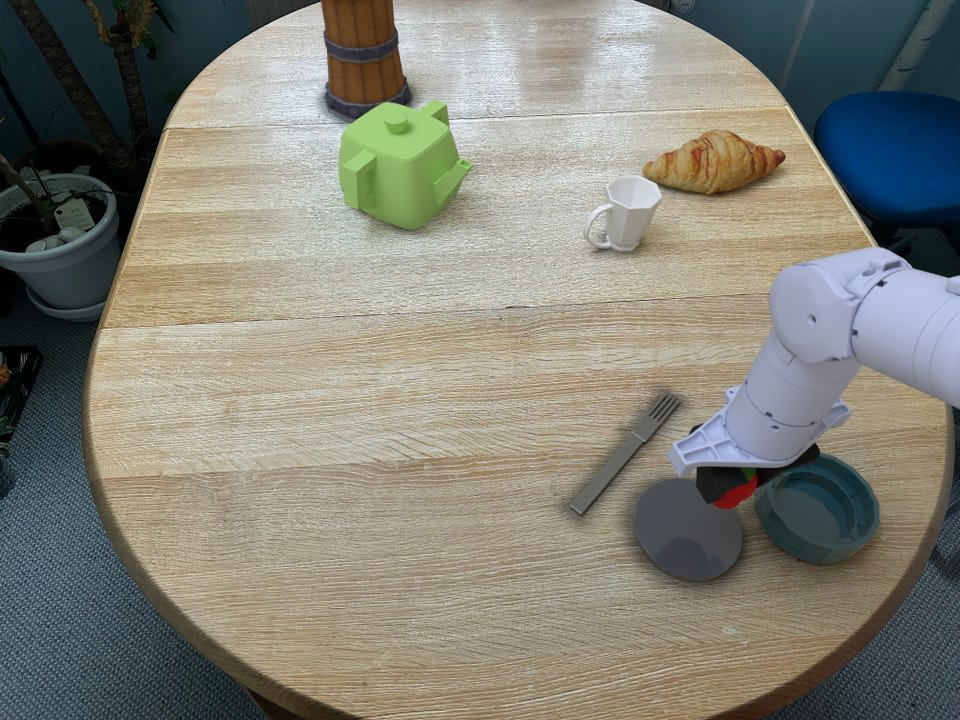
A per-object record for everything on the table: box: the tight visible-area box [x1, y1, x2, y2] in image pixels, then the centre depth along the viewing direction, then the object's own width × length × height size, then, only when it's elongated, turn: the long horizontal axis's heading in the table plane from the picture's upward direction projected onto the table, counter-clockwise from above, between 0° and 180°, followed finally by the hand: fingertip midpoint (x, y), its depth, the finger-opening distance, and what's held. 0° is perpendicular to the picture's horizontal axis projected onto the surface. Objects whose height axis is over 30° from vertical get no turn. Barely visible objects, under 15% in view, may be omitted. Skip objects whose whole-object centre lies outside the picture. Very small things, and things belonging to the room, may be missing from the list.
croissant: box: [641, 128, 787, 195], centre depth 96 cm, size 21×10×8 cm, turn 100°
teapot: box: [337, 98, 474, 230], centre depth 88 cm, size 18×20×13 cm
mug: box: [320, 0, 414, 123], centre depth 103 cm, size 19×14×20 cm
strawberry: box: [711, 467, 757, 509], centre depth 56 cm, size 4×4×5 cm
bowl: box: [753, 451, 881, 565], centre depth 64 cm, size 10×10×4 cm
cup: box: [582, 174, 663, 252], centre depth 86 cm, size 7×10×8 cm
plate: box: [632, 477, 743, 583], centre depth 64 cm, size 10×10×1 cm
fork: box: [569, 391, 681, 517], centre depth 69 cm, size 18×2×1 cm, turn 139°
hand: (727, 485), depth 57 cm, fingers closed on strawberry, 4 cm apart
